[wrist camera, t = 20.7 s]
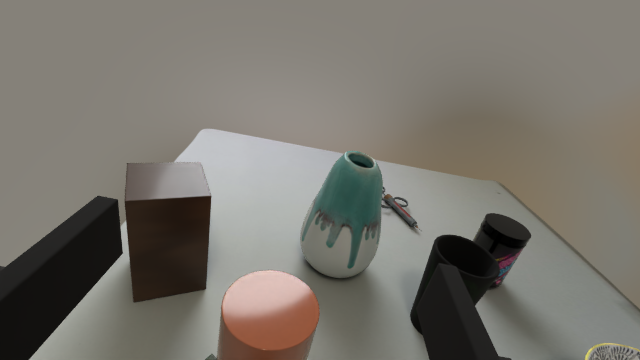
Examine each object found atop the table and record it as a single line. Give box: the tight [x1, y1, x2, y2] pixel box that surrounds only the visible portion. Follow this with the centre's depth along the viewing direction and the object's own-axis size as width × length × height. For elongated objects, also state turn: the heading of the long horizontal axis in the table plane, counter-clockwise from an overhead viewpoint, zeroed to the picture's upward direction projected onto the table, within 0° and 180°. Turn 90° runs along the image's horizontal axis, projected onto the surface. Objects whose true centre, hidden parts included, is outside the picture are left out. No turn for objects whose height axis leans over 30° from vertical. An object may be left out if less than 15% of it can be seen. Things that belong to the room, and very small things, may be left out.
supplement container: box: [473, 213, 531, 288], centre depth 53 cm, size 7×7×10 cm
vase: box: [300, 151, 383, 278], centre depth 47 cm, size 12×12×18 cm
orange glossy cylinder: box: [217, 270, 320, 360], centre depth 27 cm, size 7×7×11 cm
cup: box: [410, 235, 500, 335], centre depth 41 cm, size 8×8×12 cm
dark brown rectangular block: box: [125, 162, 211, 302], centre depth 39 cm, size 8×8×14 cm
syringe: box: [381, 187, 420, 230], centre depth 69 cm, size 8×18×2 cm, turn 23°
